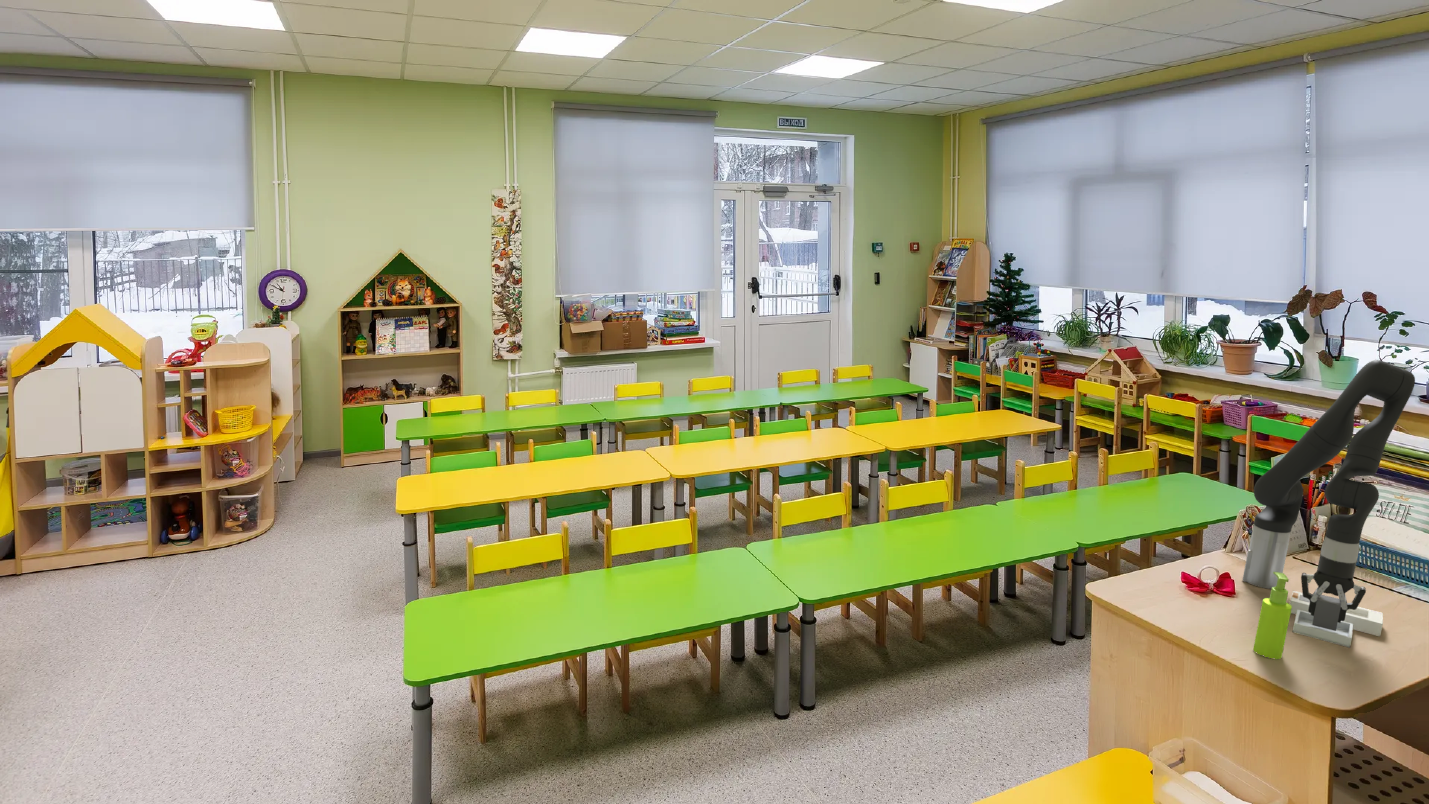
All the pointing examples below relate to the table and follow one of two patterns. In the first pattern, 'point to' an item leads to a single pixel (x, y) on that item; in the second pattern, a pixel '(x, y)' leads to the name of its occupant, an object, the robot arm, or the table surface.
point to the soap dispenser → (1273, 621)
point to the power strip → (1359, 618)
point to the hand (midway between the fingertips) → (1325, 617)
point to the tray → (1323, 630)
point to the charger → (1327, 612)
